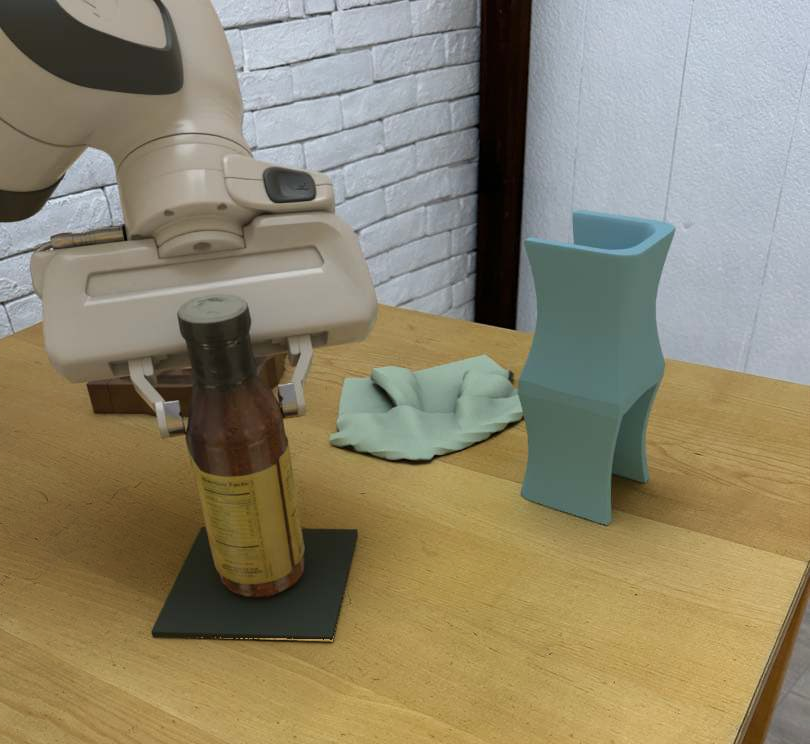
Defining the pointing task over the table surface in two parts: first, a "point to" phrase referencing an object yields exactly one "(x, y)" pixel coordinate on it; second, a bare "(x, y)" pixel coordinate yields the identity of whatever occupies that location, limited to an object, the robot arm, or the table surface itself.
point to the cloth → (426, 409)
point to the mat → (266, 616)
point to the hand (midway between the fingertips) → (235, 424)
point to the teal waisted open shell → (592, 360)
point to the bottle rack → (166, 388)
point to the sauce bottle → (239, 452)
